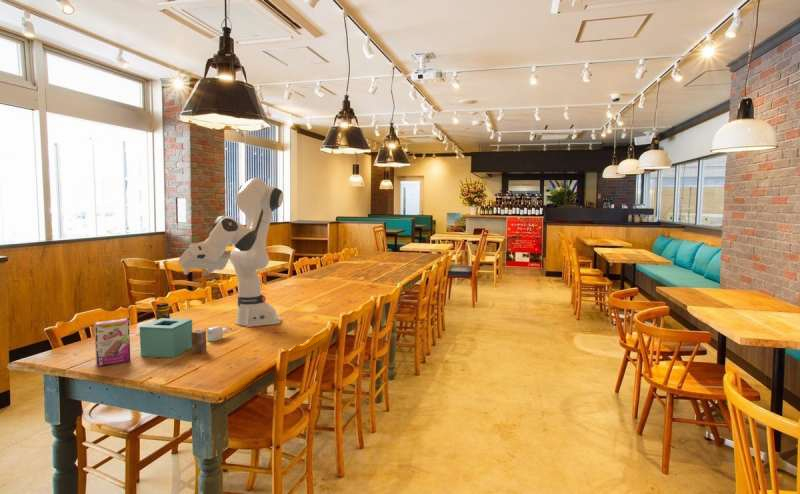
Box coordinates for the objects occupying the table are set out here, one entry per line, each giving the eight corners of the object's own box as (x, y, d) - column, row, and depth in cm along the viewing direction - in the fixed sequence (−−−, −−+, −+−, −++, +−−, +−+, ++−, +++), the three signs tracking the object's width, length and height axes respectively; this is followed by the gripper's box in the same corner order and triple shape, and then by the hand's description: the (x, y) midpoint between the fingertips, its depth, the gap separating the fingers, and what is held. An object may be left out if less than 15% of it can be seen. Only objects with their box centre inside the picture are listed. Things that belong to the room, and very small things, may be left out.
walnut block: (206, 351, 193) (205, 330, 192) (201, 354, 189) (200, 333, 188) (197, 350, 193) (196, 329, 192) (192, 354, 189) (191, 332, 188)
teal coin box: (192, 346, 198) (191, 319, 197) (173, 357, 185) (171, 328, 183) (162, 345, 200) (161, 318, 199) (140, 355, 186) (139, 326, 185)
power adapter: (226, 334, 217) (226, 322, 216) (233, 336, 214) (233, 323, 214) (206, 340, 207) (205, 328, 207) (213, 342, 205) (213, 329, 204)
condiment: (171, 327, 227) (171, 304, 226) (152, 330, 223) (151, 306, 221) (169, 324, 233) (169, 301, 232) (151, 326, 229) (149, 303, 227)
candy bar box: (97, 367, 173) (94, 325, 171) (95, 363, 177) (93, 322, 175) (131, 361, 180) (129, 320, 178) (129, 358, 184) (127, 317, 182)
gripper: (229, 247, 202) (214, 269, 207) (186, 243, 185) (170, 267, 190) (235, 258, 200) (219, 279, 204) (191, 254, 183) (175, 278, 187)
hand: (195, 273), depth 197 cm, fingers open, 8 cm apart
